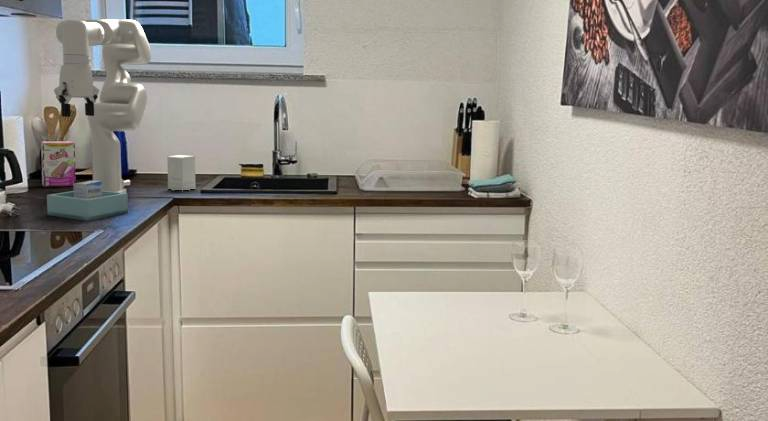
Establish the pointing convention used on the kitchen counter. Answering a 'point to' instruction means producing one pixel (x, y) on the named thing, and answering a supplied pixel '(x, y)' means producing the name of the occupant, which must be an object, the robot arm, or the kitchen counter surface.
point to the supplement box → (181, 172)
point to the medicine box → (88, 189)
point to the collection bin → (87, 205)
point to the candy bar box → (58, 163)
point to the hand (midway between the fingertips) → (78, 116)
